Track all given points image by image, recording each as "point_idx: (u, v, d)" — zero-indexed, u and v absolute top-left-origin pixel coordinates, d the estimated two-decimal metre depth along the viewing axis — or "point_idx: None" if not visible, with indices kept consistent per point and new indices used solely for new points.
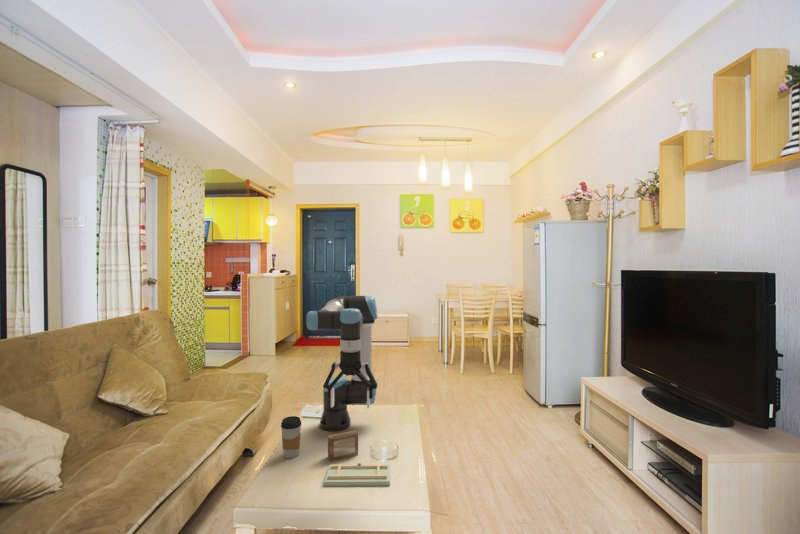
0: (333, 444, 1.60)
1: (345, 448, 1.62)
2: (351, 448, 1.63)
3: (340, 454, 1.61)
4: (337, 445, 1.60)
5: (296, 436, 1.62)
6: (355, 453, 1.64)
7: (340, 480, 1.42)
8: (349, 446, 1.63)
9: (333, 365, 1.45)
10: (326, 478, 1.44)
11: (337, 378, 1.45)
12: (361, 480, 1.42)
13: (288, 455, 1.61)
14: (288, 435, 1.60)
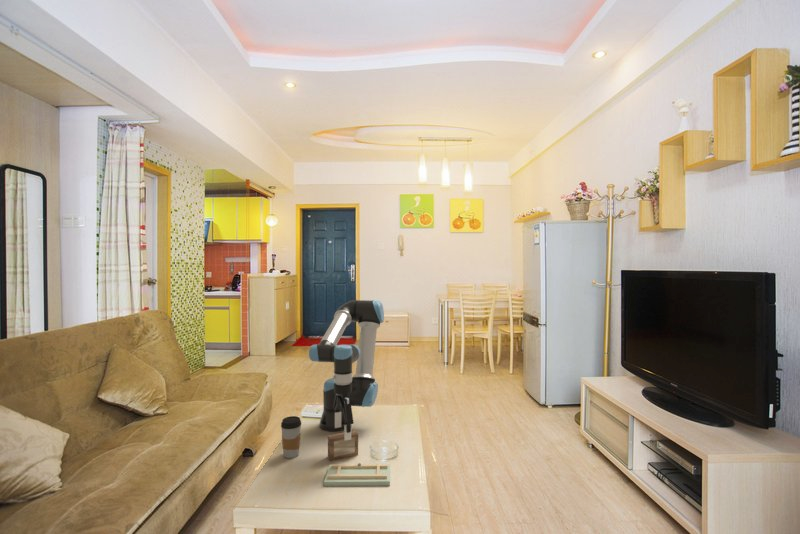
0: (333, 444, 1.60)
1: (344, 448, 1.62)
2: (351, 448, 1.63)
3: (340, 454, 1.61)
4: (337, 445, 1.60)
5: (296, 436, 1.62)
6: (355, 453, 1.64)
7: (340, 480, 1.42)
8: (349, 446, 1.63)
9: None
10: (326, 478, 1.44)
11: (336, 404, 1.67)
12: (361, 480, 1.42)
13: (288, 455, 1.61)
14: (288, 435, 1.60)
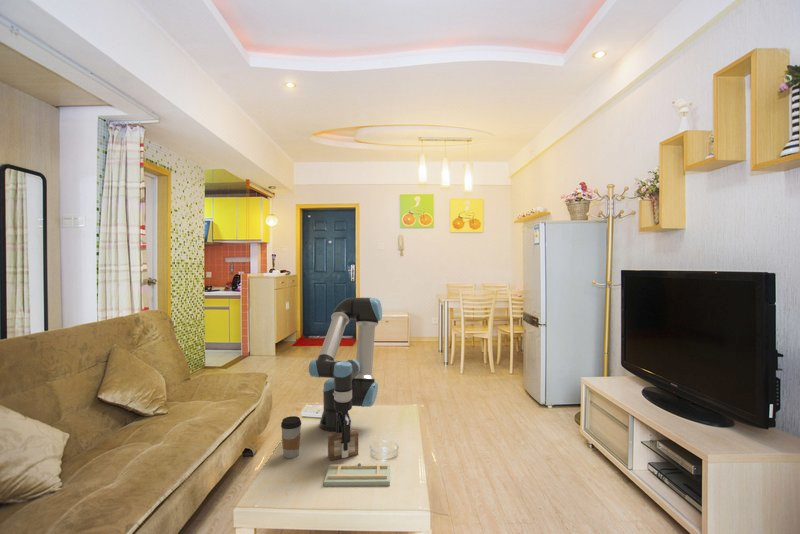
0: (334, 444, 1.60)
1: None
2: (351, 447, 1.63)
3: (341, 453, 1.61)
4: (337, 444, 1.60)
5: (296, 436, 1.62)
6: (355, 452, 1.64)
7: (340, 480, 1.42)
8: (349, 446, 1.63)
9: (336, 411, 1.68)
10: (326, 478, 1.44)
11: (338, 425, 1.65)
12: (361, 480, 1.42)
13: (288, 455, 1.61)
14: (288, 435, 1.60)
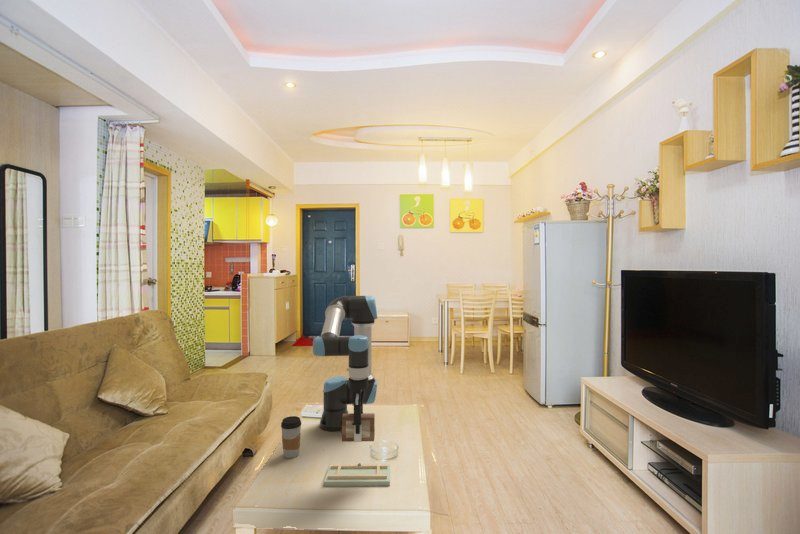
0: (345, 424, 1.45)
1: None
2: (366, 432, 1.46)
3: (353, 436, 1.45)
4: (349, 425, 1.45)
5: (296, 436, 1.62)
6: (370, 438, 1.46)
7: (340, 480, 1.42)
8: (363, 430, 1.45)
9: None
10: (326, 478, 1.44)
11: None
12: (361, 480, 1.42)
13: (288, 455, 1.61)
14: (288, 435, 1.60)
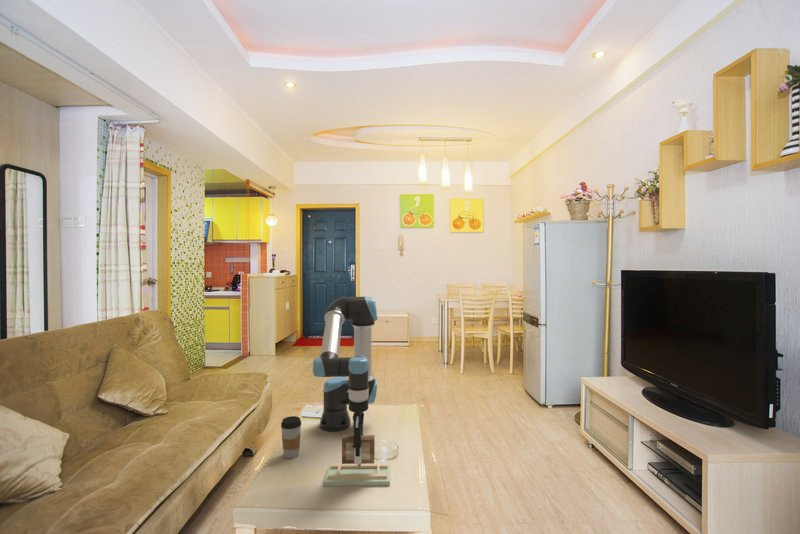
0: (345, 446, 1.45)
1: None
2: (366, 454, 1.46)
3: (353, 458, 1.45)
4: (349, 447, 1.45)
5: (296, 436, 1.62)
6: (370, 461, 1.46)
7: (340, 480, 1.42)
8: (363, 452, 1.45)
9: None
10: (326, 478, 1.44)
11: None
12: (361, 480, 1.42)
13: (288, 455, 1.61)
14: (288, 435, 1.60)
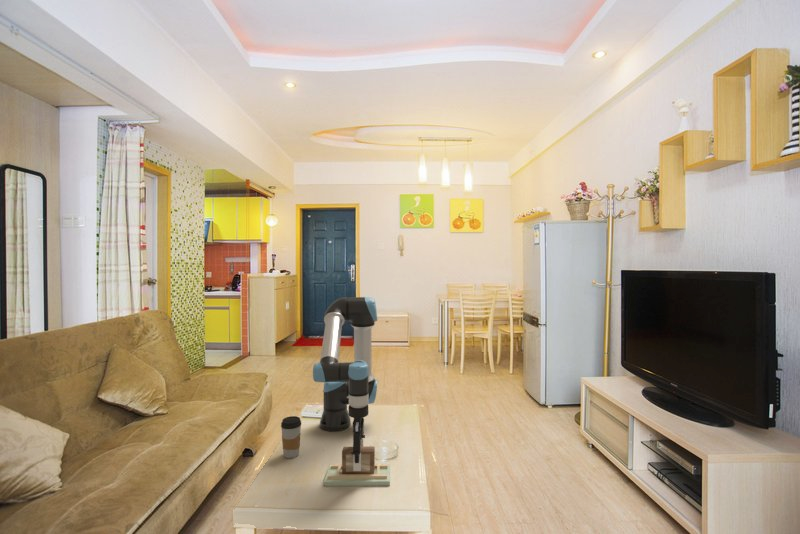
0: (346, 458, 1.46)
1: None
2: (366, 466, 1.46)
3: None
4: (349, 459, 1.46)
5: (296, 436, 1.62)
6: (370, 472, 1.46)
7: (340, 480, 1.42)
8: (363, 464, 1.46)
9: None
10: (326, 478, 1.44)
11: None
12: (361, 480, 1.42)
13: (288, 455, 1.61)
14: (288, 435, 1.60)
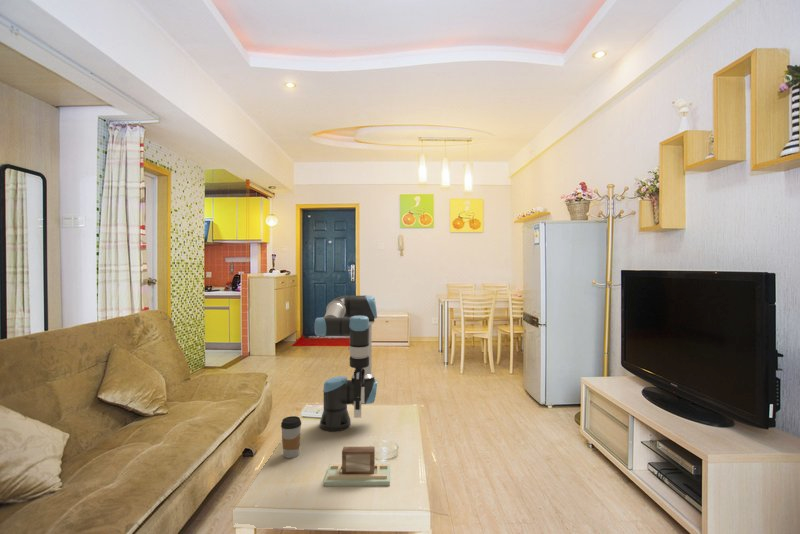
0: (346, 458, 1.46)
1: (358, 465, 1.46)
2: (366, 466, 1.46)
3: (353, 470, 1.46)
4: (349, 459, 1.46)
5: (296, 436, 1.62)
6: (370, 472, 1.46)
7: (340, 480, 1.42)
8: (363, 464, 1.46)
9: None
10: (326, 478, 1.44)
11: None
12: (361, 480, 1.42)
13: (288, 455, 1.61)
14: (288, 435, 1.60)
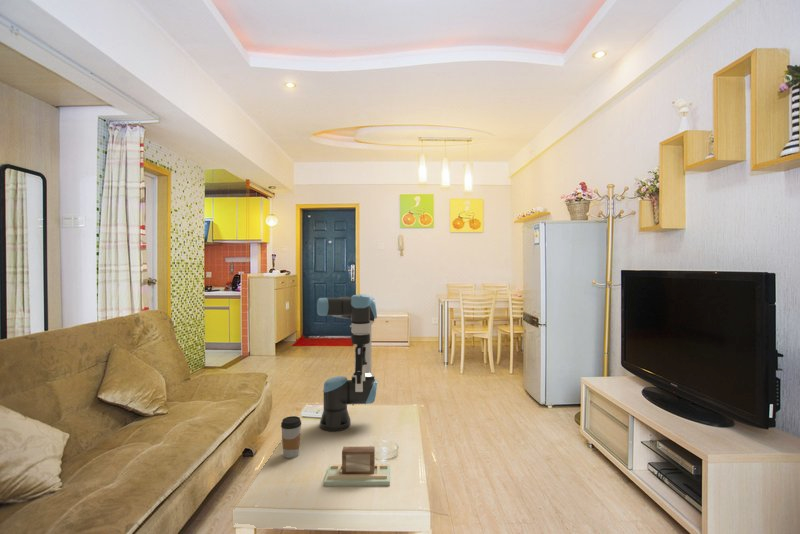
0: (346, 458, 1.46)
1: (358, 465, 1.46)
2: (366, 466, 1.46)
3: (353, 470, 1.46)
4: (349, 459, 1.46)
5: (296, 436, 1.62)
6: (370, 472, 1.46)
7: (340, 480, 1.42)
8: (363, 464, 1.46)
9: None
10: (326, 478, 1.44)
11: None
12: (361, 480, 1.42)
13: (288, 455, 1.61)
14: (288, 435, 1.60)
